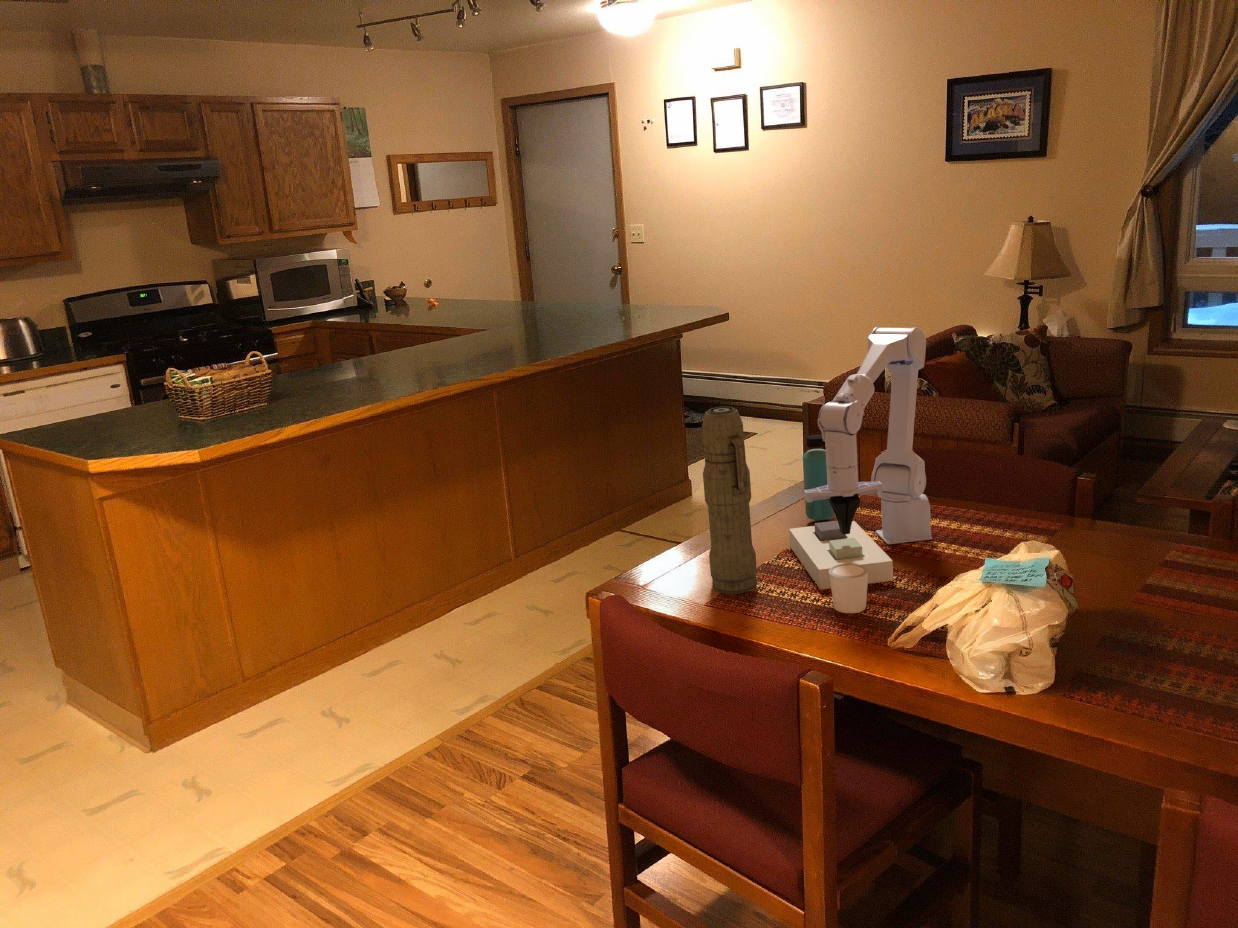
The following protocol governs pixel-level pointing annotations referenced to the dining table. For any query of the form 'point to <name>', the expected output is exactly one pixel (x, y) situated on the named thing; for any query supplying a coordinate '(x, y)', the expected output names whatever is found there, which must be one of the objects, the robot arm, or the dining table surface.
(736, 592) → the thermos
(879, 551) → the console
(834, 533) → the charcoal key
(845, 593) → the white cup
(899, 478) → the robot arm
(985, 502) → the dining table surface
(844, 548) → the sage key
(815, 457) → the beverage bottle
